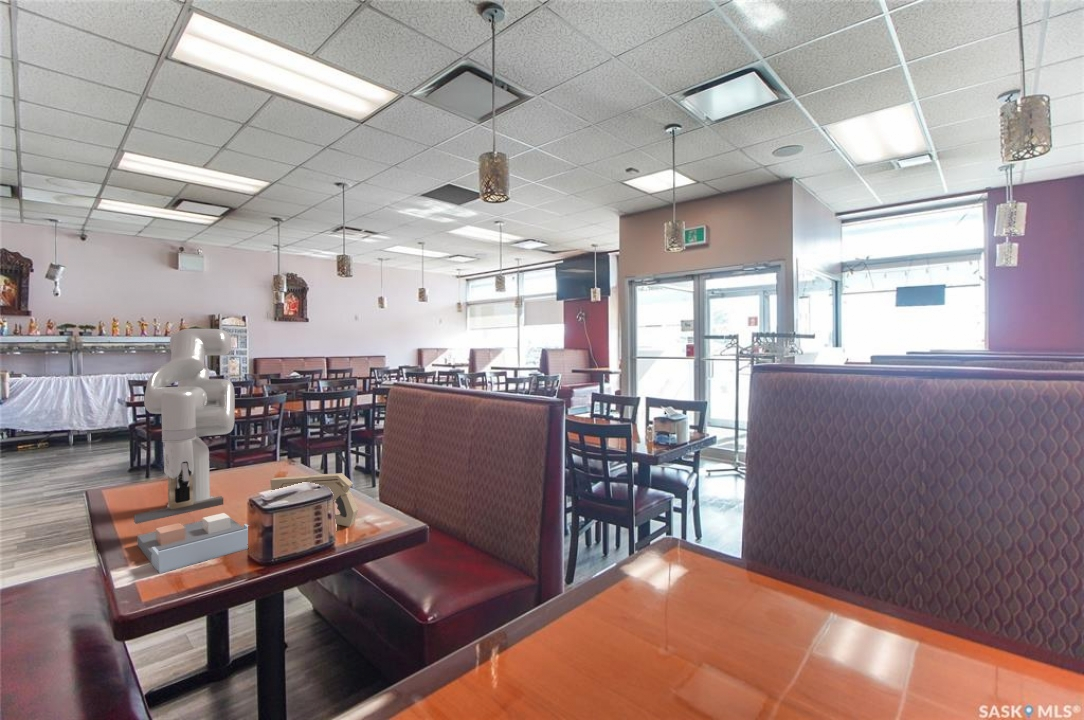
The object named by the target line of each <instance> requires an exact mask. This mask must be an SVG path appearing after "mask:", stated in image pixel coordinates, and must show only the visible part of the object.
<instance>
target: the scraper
mask: <svg viewBox="0 0 1084 720" xmlns="http://www.w3.org/2000/svg"><path fill="white" fill-rule="evenodd" d="M180 476H182V474H181V475H179V477H180ZM180 480H182V479H179V482H180ZM189 486H190V500H189V501H185V502H180V503H176V502H175V488H176V477H175V479H172V478H170V477H169V476H168V475H167V496H168V497H167V499H168V500H167V502H168V503H167V505H168V506H169V507H167V506H166V507H164V508H159V509H154V510H149V511H144V512H140V513H139V512H138V513H136V514H133V520H134V521H133V522H134V524H135V525H137V524H142V523H146V522H150V521H155V520H161V519H165V518H169V517H172V516H173V517H175V516H179V515H182V514H186V513H191V512H195V511H201V510H204V509H210V508H215V507H218V506H223V505H224V497H223V496H214V497H215V498H210V499H205V500H201V501H196V502H193V475H191V476H189Z"/></svg>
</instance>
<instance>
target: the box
mask: <svg viewBox="0 0 1084 720" xmlns="http://www.w3.org/2000/svg"><path fill="white" fill-rule="evenodd" d="M248 526H249V525H248V524H247V523H244V524H243V527H244V530H240V531H236V532H232V533H228V534H224V535H220V536H217V537H213V538H209V539H205V540H201V541H197V542H193V543H189V544H185V545H181V546H177V547H174V548H170V549H166V550H162V551H158V550H157V549H156V547H152V555H151V562H150V563H151V565H152V566H153V568H154V569H155V570H156V572H157V573H158V574H164V573H167V572H171V571H174V570H177V569H181V568H185V567H189V566H193V565H197V564H199V563H203V562H205V561H209V560H214V559H217V558H221V557H223V556H227V555H231V554H234V553H237V552H241V551H244V550H248V545H247V544H248Z"/></svg>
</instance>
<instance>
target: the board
mask: <svg viewBox="0 0 1084 720" xmlns="http://www.w3.org/2000/svg"><path fill="white" fill-rule="evenodd" d="M182 525H183V526H184V527H185V540H181V541H177V542H173V543H169V544H165V545H160V544H159V543H158V542H157V541H156V530H155V531H151V532H148V533H143V534H140V535H139V534H138V535H137V536H136V537H137V542H136V543H137V547H138V548H139V549H140V550H141V552H142V553H143V554H144V556H145V557H146V558H147V559H148V561H149V562H150V563H151V555H152V547H156V549H157V550H158V551H162V550H166V549H170V548H174V547H177V546H181V545H185V544H189V543H193V542H197V541H201V540H205V539H209V538H213V537H217V536H220V535H224V534H228V533H232V532H236V531H240V530H244V526H243V525H241V524H239V523H238V522H236V521H235V520H234V519H233V518H231V517H230V528H229V529H225V530H221V531H217V532H213V533H209V534H208V533H207V532H206V531H205V530H204V529H203V520H200V521H196V522H191V523H187V524H182Z"/></svg>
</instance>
